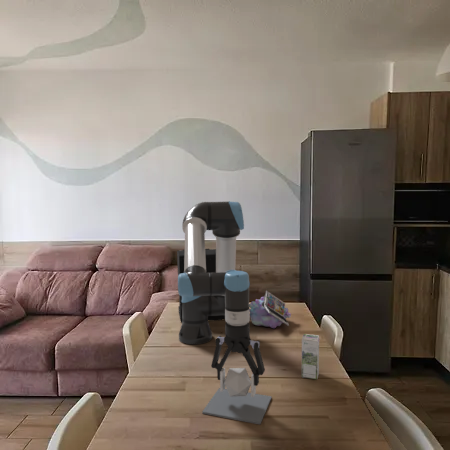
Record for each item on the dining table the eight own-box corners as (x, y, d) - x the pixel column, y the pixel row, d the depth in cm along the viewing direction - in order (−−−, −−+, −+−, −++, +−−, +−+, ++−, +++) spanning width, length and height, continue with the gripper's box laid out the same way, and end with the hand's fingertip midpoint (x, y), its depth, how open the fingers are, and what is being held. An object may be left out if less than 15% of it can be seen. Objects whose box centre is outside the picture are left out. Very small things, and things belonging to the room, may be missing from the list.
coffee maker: (227, 308, 222) (227, 247, 219) (234, 319, 203) (234, 253, 200) (178, 311, 217) (177, 249, 214) (180, 323, 198) (179, 255, 195)
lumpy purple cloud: (256, 305, 211) (250, 281, 201) (296, 307, 203) (291, 282, 193) (247, 335, 196) (240, 311, 186) (290, 339, 188) (285, 314, 178)
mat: (202, 413, 117) (202, 411, 117) (219, 389, 132) (219, 387, 132) (260, 424, 112) (260, 422, 111) (271, 398, 126) (271, 396, 126)
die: (242, 406, 115) (258, 376, 117) (217, 390, 116) (234, 361, 119) (241, 402, 123) (256, 374, 125) (218, 387, 124) (233, 359, 126)
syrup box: (319, 372, 143) (319, 334, 141) (317, 380, 137) (317, 340, 136) (303, 370, 144) (303, 332, 143) (301, 378, 139) (301, 338, 138)
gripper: (199, 322, 119) (200, 392, 121) (269, 330, 112) (269, 404, 114) (208, 315, 126) (209, 381, 128) (275, 321, 119) (275, 391, 121)
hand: (238, 392), depth 121 cm, fingers closed on die, 9 cm apart
